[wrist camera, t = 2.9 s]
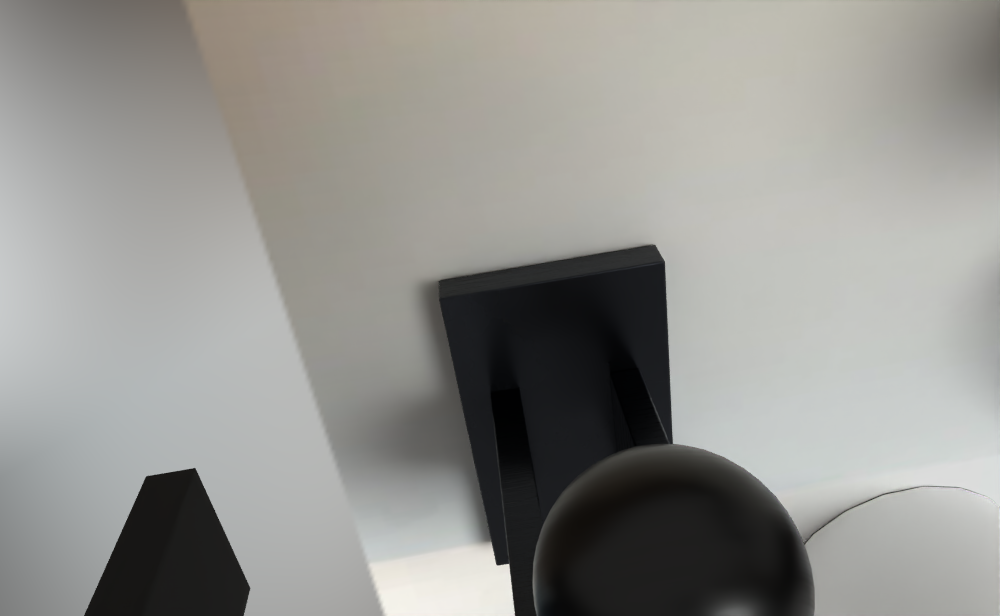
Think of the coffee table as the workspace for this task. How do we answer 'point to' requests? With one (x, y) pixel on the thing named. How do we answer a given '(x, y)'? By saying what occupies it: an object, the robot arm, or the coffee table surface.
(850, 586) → the mug
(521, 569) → the switch bracket
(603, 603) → the switch lever
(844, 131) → the coffee table surface
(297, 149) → the coffee table surface
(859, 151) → the coffee table surface
